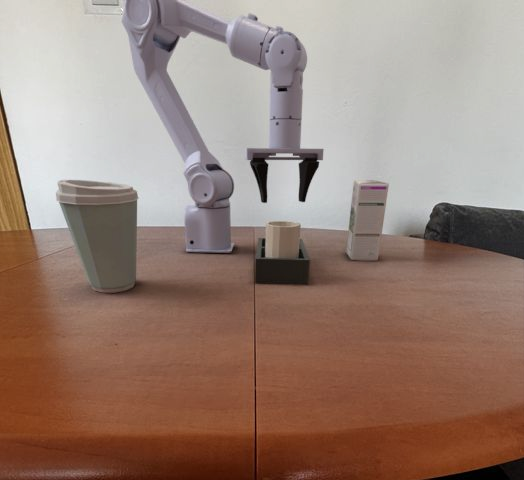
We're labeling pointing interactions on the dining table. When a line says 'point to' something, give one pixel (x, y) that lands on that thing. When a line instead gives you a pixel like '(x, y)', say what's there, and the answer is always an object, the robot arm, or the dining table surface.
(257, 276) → the cup holder
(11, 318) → the dining table surface
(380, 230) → the syrup box
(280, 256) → the paper cup
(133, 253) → the disposable coffee cup
